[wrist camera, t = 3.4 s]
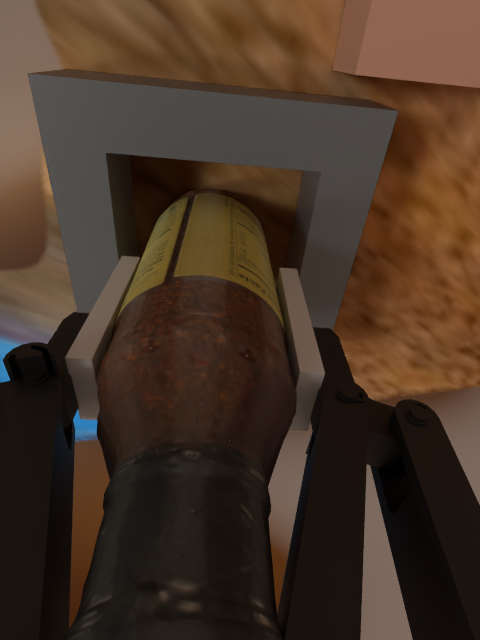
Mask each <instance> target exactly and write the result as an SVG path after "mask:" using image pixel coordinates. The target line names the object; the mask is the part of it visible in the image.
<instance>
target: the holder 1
mask: <svg viewBox="0 0 480 640" xmlns="http://www.w3.org/2000/svg"><path fill="white" fill-rule="evenodd" d="M28 77H29V81H30V87H31V91H32V96H33V101H34V106H35V111H36V115H37V120H38V125H39V130H40V135H41V139H42V144H43V149H44V154H45V158H46V163H47V168H48V173H49V178H50V182H51V187H52V192H53V197H54V201H55V206H56V211H57V216H58V221H59V225H60V230H61V235H62V240H63V244H64V249H65V254H66V259H67V264H68V268H69V273H70V278H71V283H72V287H73V292H74V297H75V302H76V307H77V311H78V313H90V312H91V310H92V309H93V307H94V305H95V303H96V302H97V300H98V298H99V296H100V294H101V293H102V291H103V289H104V287H105V285H106V284H107V282H108V280H109V278H110V276H111V275H112V273H113V271H114V269H115V268H116V266H117V264H118V262H119V260H120V259H121V257H122V256H132V257H139V255H138V243H137V231H136V219H135V206H134V194H133V182H132V170H131V158H130V155H137V156H148V157H159V158H170V159H181V160H192V161H203V162H214V163H226V164H237V165H248V166H259V167H270V168H281V169H292V170H303V175H302V181H301V186H300V192H299V197H298V203H297V209H296V214H295V220H294V225H293V231H292V236H291V242H290V248H289V253H288V259H287V264H286V268H291V269H297V272H298V275H299V279H300V283H301V286H302V290H303V294H304V298H305V301H306V305H307V309H308V312H309V316H310V320H311V323H312V327H317V328H331V330H332V331H333V329H334V326H335V322H336V319H337V316H338V312H339V309H340V306H341V302H342V299H343V295H344V292H345V289H346V285H347V282H348V279H349V275H350V272H351V269H352V265H353V262H354V259H355V255H356V252H357V248H358V245H359V242H360V238H361V235H362V232H363V228H364V225H365V222H366V218H367V215H368V212H369V208H370V205H371V201H372V198H373V195H374V191H375V188H376V185H377V181H378V178H379V175H380V171H381V168H382V164H383V161H384V158H385V154H386V151H387V148H388V144H389V141H390V138H391V134H392V131H393V128H394V124H395V121H396V117H397V114H398V111H397V110H395V109H392V108H389V107H387V106H384V105H381V104H379V103H376V102H373V101H371V100H366V99H356V98H347V97H337V96H327V95H317V94H307V93H298V92H288V91H278V90H268V89H258V88H249V87H239V86H229V85H219V84H210V83H200V82H190V81H180V80H170V79H161V78H151V77H141V76H131V75H122V74H112V73H102V72H92V71H82V70H73V69H64V70H55V71H46V72H37V73H28Z"/></svg>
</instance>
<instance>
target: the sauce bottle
mask: <svg viewBox="0 0 480 640" xmlns="http://www.w3.org/2000/svg"><path fill="white" fill-rule="evenodd" d="M96 384H97V387H98V392H97V397H98V401H99V408H100V409H99V413H98V417H97V421H98V423H97V437H98V439H99V441H100V444H101V447H102V450H103V454H104V459H105V463H106V467H107V471H108V474H109V478H110V482H109V485H108V487H107V489H106V491H105V493H104V501H103V509H104V516H103V519H102V522H101V526H100V529H99V532H98V536H97V540H96V544H95V548H94V553H93V557H92V562H91V565H90V569H89V572H88V576H87V578H86V581H85V584H84V587H83V593H82V598H81V603H80V606H79V610H78V613H77V616H76V618H75V620H74V623H73V624H72V626H71V627H70V628H69V630H68V632H67V633H66V635H65V636H64V637H63V639H62V640H284V637H283V633H282V630H281V628H280V625H279V622H278V619H277V610H276V602H275V591H274V578H273V564H272V555H271V544H270V535H269V521H268V517H269V515H270V512H271V503H270V496H269V492H268V485H269V482H270V478H271V476H272V473H273V469H274V467H275V464H276V460H277V458H278V455H279V452H280V449H281V446H282V444H283V441H284V439H285V437H286V435H287V432H288V430H289V428H290V426H291V424H292V421H293V418H294V416H295V414H296V405H297V393H296V389H295V385H294V381H293V377H292V373H291V369H290V365H289V360H288V352H287V338H286V332H285V328H284V322H283V318H282V314H281V309H280V305H279V301H278V296H277V292H276V287H275V282H274V277H273V272H272V268H271V264H270V259H269V254H268V249H267V244H266V239H265V235H264V232H263V229H262V227H261V224H260V222H259V220H258V219H257V217H256V216H255V215H254V214H253V213H252V211H251V210H250V209H249V208H248V207H247V206H246V205H245V204H244V203H243V201H242V200H241V199H240V198H238V197H237V196H235V195H234V194H231V193H227V192H224V191H221V190H209V189H204V190H191V191H189V192H187V193H185V194H183V195H181V196H180V197H178V198H177V199H176V200H175V201H173V203H172V204H171V205H170V206H169V207H168V208H167V209H166V210H165V211H164V212H163V214H162V215H161V216H160V217H159V218H158V220H157V222H156V224H155V227H154V229H153V232H152V234H151V237H150V239H149V241H148V243H147V246H146V249H145V251H144V254H143V256H142V259H141V261H140V264H139V266H138V268H137V271H136V273H135V276H134V278H133V281H132V283H131V285H130V288H129V290H128V292H127V295H126V297H125V299H124V302H123V304H122V307H121V309H120V312H119V314H118V317H117V319H116V321H115V324H114V326H113V332H112V341H111V343H110V346H109V347H108V350H107V353H106V354H105V356H104V358H103V360H102V362H101V367H100V371H99V374H98V377H97V381H96Z"/></svg>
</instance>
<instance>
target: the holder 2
mask: <svg viewBox="0 0 480 640" xmlns="http://www.w3.org/2000/svg"><path fill="white" fill-rule="evenodd" d="M332 70H334V71H339V72H344V73H348V74H353V75H361V76H370V77H380V78H389V79H399V80H408V81H418V82H427V83H436V84H446V85H455V86H465V87H474V88H480V0H346V3H345V8H344V13H343V18H342V23H341V28H340V33H339V39H338V44H337V49H336V54H335V59H334V64H333V69H332Z"/></svg>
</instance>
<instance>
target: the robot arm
mask: <svg viewBox="0 0 480 640" xmlns="http://www.w3.org/2000/svg"><path fill="white" fill-rule="evenodd" d="M139 264H140V257H132V256H122V257H121V259H120V260H119V262H118V264H117V266H116V268H115V269H114V271H113V273H112V275H111V276H110V278H109V280H108V282H107V284H106V285H105V287H104V289H103V291H102V293H101V294H100V296H99V298H98V300H97V302H96V303H95V305H94V307H93V309H92V310H91V312H90V313H78V312H73V313H72V314H71V315H69V316H68V317H66V318H65V319H64V320H63V321H62V322H61V324H60V325H59V327H58V329H57V331H56V332H55V333H54V335H53V336H52V339H50V341H49V342H48V344H44V343H28V344H23V345H20V346H18V347H16V348H14V349H12V350H11V351H10V352H9V353H7V354H6V356H5V358H4V359H3V362H4V365H5V367H6V370H7V372H8V375H9V378H10V380H11V381H7V382H3V383H0V640H62V639H63V637H64V636H65V635H66V633H67V632H68V630H69V613H70V610H69V609H70V580H71V547H72V545H71V544H72V512H73V511H72V510H73V478H74V443H75V427H74V423H73V418H74V416H75V414H76V411H77V409H78V411H79V415H80V419H89V420H97V417H98V413H99V409H100V408H99V401H98V397H97V392H98V387H97V384H96V381H97V377H98V374H99V371H100V367H101V362H102V360H103V358H104V356H105V354H106V353H107V350H108V347H109V346H110V343H111V341H112V332H113V326H114V324H115V321H116V319H117V317H118V314H119V312H120V309H121V307H122V304H123V302H124V299H125V297H126V295H127V292H128V290H129V288H130V285H131V283H132V281H133V278H134V276H135V273H136V271H137V268H138V266H139ZM276 292H277V296H278V301H279V305H280V309H281V314H282V318H283V322H284V328H285V332H286V338H287V352H288V360H289V365H290V369H291V373H292V377H293V381H294V385H295V389H296V393H297V405H296V414H295V416H294V418H293V421H292V424H291V426H290V428H289V430H308V427H309V424H310V421H311V424H312V430H313V432H312V435H311V439H310V442H309V445H308V448H307V451H306V454H307V459H306V464H305V469H304V475H303V480H302V485H301V491H300V496H299V501H298V506H297V512H296V518H295V523H294V528H293V533H292V538H291V544H290V549H289V554H288V559H287V565H286V570H285V576H284V581H283V586H282V591H281V596H280V602H279V607H278V612H277V619H278V622H279V625H280V628H281V630H282V633H283V637H284V640H360V633H361V604H362V577H363V549H364V521H365V520H364V519H365V492H366V490H365V489H366V465H367V464H368V465H370V466H371V470H372V474H373V478H374V482H375V487H376V491H377V495H378V499H379V503H380V507H381V511H382V515H383V519H384V523H385V528H386V531H387V536H388V540H389V544H390V548H391V552H392V556H393V560H394V564H395V569H396V572H397V577H398V581H399V585H400V589H401V593H402V597H403V601H404V605H405V610H406V614H407V617H408V622H409V626H410V630H411V634H412V638H413V640H480V505H479V503H478V501H477V499H476V497H475V494H474V492H473V490H472V488H471V486H470V484H469V481H468V479H467V477H466V475H465V473H464V471H463V469H462V466H461V464H460V462H459V460H458V458H457V456H456V453H455V451H454V449H453V447H452V445H451V443H450V440H449V438H448V436H447V434H446V432H445V430H444V428H443V426H442V423H441V421H440V419H439V417H438V416H437V414H436V413H435V412H434V411H433V410H432V409H431V408H430V407H428V406H427V405H425V404H423V403H421V402H419V401H415V400H411V399H409V400H402V401H400V402H398V403H397V405H396V407H392V406H389V405H386V404H382V403H379V402H376V401H374V400H372V399H370V398H368V395H367V394H366V392H365V391H364V389H363V388H361V387H360V386H359V385H357V384H356V383H355V382H354V379H353V377H352V374H351V371H350V368H349V365H348V362H347V360H346V357H345V356H344V351H343V348H342V345H341V343H340V340H339V337H338V336H337V335H336V334H335V333H334V332H333V331H332V330H331V328H317V327H312V323H311V320H310V316H309V312H308V309H307V305H306V301H305V298H304V294H303V290H302V286H301V283H300V279H299V275H298V272H297V269H291V268H280V270H279V276H278V281H277V287H276Z"/></svg>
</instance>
